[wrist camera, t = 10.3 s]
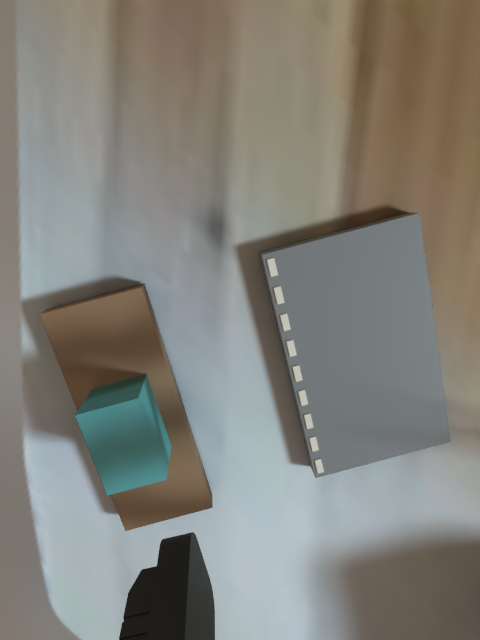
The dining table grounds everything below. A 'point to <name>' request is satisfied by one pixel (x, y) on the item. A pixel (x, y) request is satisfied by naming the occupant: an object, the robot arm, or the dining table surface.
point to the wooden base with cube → (129, 405)
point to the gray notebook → (360, 342)
